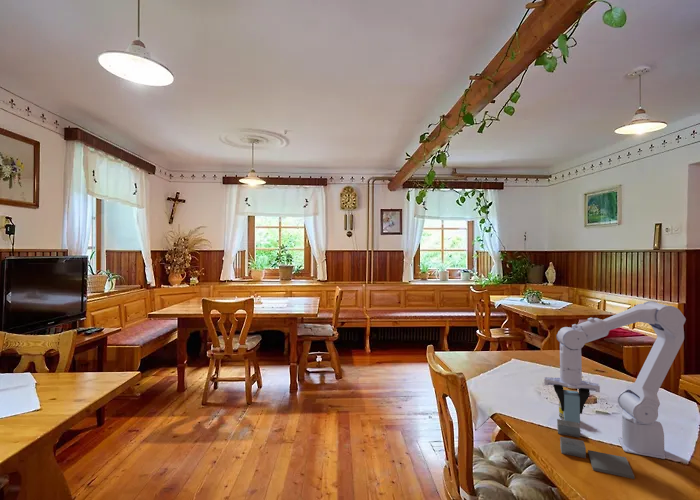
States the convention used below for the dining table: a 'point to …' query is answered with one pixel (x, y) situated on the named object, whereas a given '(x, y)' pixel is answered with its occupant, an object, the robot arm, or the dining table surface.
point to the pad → (610, 464)
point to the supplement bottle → (561, 412)
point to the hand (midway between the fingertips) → (571, 411)
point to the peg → (571, 406)
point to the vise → (568, 444)
